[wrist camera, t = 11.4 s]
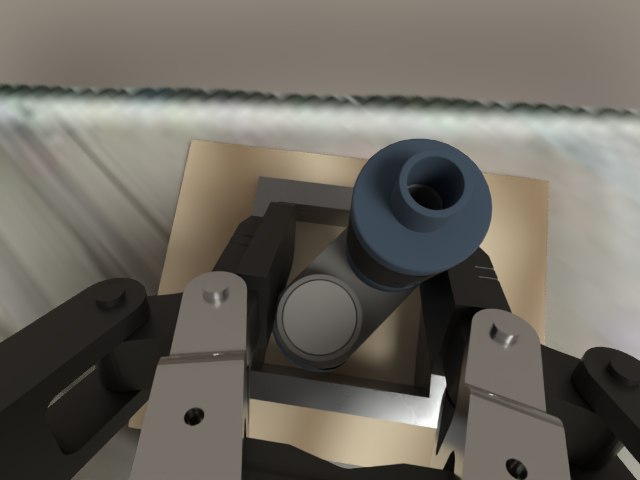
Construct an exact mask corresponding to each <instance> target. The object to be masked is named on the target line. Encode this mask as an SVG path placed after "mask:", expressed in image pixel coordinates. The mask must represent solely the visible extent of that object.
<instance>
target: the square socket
mask: <svg viewBox="0 0 640 480" xmlns="http://www.w3.org/2000/svg"><path fill="white" fill-rule="evenodd" d="M353 188H354V187H346V186H338V185H329V184H321V183H313V182H304V181H296V180H288V179H280V178H271V177H263V176H259V180H258V186H257V191H256V197H255V202H254V208H253V213H252V216H260V217H263V216H264V214H265V212H266V210H267V208H268V206H269V204H270V202H279V203H288V204H295V205H296V221H301V222H309V223H316V224H324V225H332V226H340V227H348V223H349V216H350V208H351V200H352V194H353ZM265 354H266V349H263V348H257V347H255V350H254V353H253V356H252V359H251V361H250V399H255V400H261V401H268V402H274V403H280V404H287V405H293V406H299V407H306V408H312V409H318V410H324V411H331V412H337V413H343V414H350V415H356V416H362V417H369V418H375V419H381V420H387V421H394V422H400V423H406V424H413V425H419V426H425V427H432V428H437V422H438V417H439V411H440V405H441V399H442V395H443V393H444V390H445V388H446V380H445V376H440V375H433V374H431V371H430V363H429V355H428V348H427V340H426V333H425V325H424V317H423V310H422V302H421V310H420V321H419V333H418V344H417V355H416V367H415V378H414V386H413V385H407V384H400V383H394V382H387V381H380V380H374V379H367V378H361V377H354V376H348V375H341V374H334V373H328V372H314V371H308V370H306V369H302V368H295V367H288V366H282V365H275V364H269V363H264V360H265Z"/></svg>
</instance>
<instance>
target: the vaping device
mask: <svg viewBox="0 0 640 480" xmlns="http://www.w3.org/2000/svg"><path fill="white" fill-rule="evenodd" d="M491 218H492V198H491V193H490V190H489V186H488V184H487V182H486V180H485V177H484V175H483V174H482V172H481V171H480V169H479V168H478V167H477V165H476V164H475V163H474V162H473V161H472V160H471V159H470V158H469V157H468V156H467V155H465V154H464V153H462V152H461V151H460V150H458V149H456V148H454V147H452V146H450V145H448V144H446V143H442V142H439V141H436V140H429V139H409V140H403V141H399V142H396V143H394V144H391V145H389V146H387V147H385V148H383V149H381V150H380V151H378V152H377V153H376V154H375V155H374V156H372V157H371V158H370V159H369V160H368V162H367V163H366V164H365V165H364V166H363V168H362V169H361V171H360V173H359V175H358V176H357V179H356V182H355V185H354V188H353V194H352V200H351V208H350V216H349V223H348V227H347V228H346V229H345V230H344V231H343V232H342V233H341V234H340V235H339V236H338V237H336V238H335V239H334V240H333V241H332V242H331V243H330V244H329V245H328V246H327V247H326V248H325V249H324V250H323V251H322V252H321V253H320V254H319V255H318V256H317V257H316V258H315V259H314V260H313V261H312V262H311V263H310V264H309V265H308V266H307V267H306V268H305V269H304V270H303V271H302V272H301V273H300V274H299V275H298V276H297V277H296V278H295V279H294V280H293V281H292V282H291V283H290V284H289V285H288V286H287V287H286V288H285V289H284V290H283V291H282V292H281V293H280V294H279V296H278V301H277V307H276V313H275V319H274V327H273V330H272V333H273V336H274V339H275V342H276V344H277V346H278V347H279V348H280V350H281V351H282V353H283V354H284V356H285V357H287V358H288V359H289V360H290V361H292V362H293V363H294V364H295V365H297V366H299V367H301V368H304V369H306V370H308V371H314V372H327V371H331V370H335V369H337V368H338V367H340V366H341V365H343V364H344V363H345V362H346V361H347V360H348V359H349V358H350V356H351V355H352V354H353V353H354V352H355V351H356V350H357V349H358V348H359V347H360V346H361V345H362V344H363V343H364V342H365V341H366V340H367V339H368V338H369V337H370V336H371V335H372V334H373V332H374V331H375V330H376V329H377V328H378V327H379V326H380V325H381V324H382V323H383V322H384V321H385V320H386V319H387V318H388V317H389V316H390V315H391V314H392V313H393V312H394V311H395V310H396V308H397V307H398V306H399V305H400V304H401V303H402V302H403V301H404V300H405V299H406V298H407V297H408V296H409V295H410V294H411V293H412V292H413V291H414V290H415V289H416V288H417V287H418V286H419V284H420V283H422V282H424V281H426V280H428V279H430V278H432V277H434V276H436V275H438V274H440V273H442V272H443V271H445V270H447V269H449V268H451V267H453V266H455V265H457V264H459V263H461V262H462V261H464V260H466V259H467V258H468V257H469V256H470V255H471V254H473V253H474V252H475V251H476V250H477V248H478V247H479V246H480V244H481V243H482V242H483V240H484V238H485V236H486V234H487V232H488V230H489V226H490V223H491Z"/></svg>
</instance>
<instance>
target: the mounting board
mask: <svg viewBox="0 0 640 480" xmlns="http://www.w3.org/2000/svg"><path fill="white" fill-rule="evenodd" d="M367 162H368V160H365V159H356V158H347V157H339V156H330V155H321V154H313V153H304V152H295V151H287V150H278V149H269V148H261V147H252V146H243V145H235V144H226V143H217V142H209V141H200V140H192V141H191V145H190V150H189V154H188V159H187V163H186V168H185V172H184V177H183V181H182V186H181V190H180V195H179V199H178V204H177V208H176V213H175V217H174V222H173V226H172V231H171V235H170V240H169V245H168V249H167V254H166V258H165V263H164V267H163V272H162V276H161V281H160V285H159V290H158V294H157V295H166V294H176V293H181V292H184V289H185V287H186V285H187V284H188V283H189V282H190V281H191V280H192V279H194V278H195V277H197V276H199V275H202V274H205V273H208V272H211V271H212V270H213V268H214V266H215V264H216V263H217V261H218V259H219V258H220V256H221V254H222V252H223V251H224V249H225V247H226V246H227V244H228V243H229V241H230V239H231V237H232V236H233V234H234V232H235V230H236V229H237V227H238V225H239V223H241V222H242V221H244V220H245V219H247V218H248V217H250V216H252V213H253V208H254V202H255V197H256V191H257V186H258V180H259V176H263V177H271V178H280V179H288V180H296V181H304V182H313V183H321V184H329V185H338V186H346V187H354V185H355V182H356V179H357V176H358V175H359V173H360V171H361V169H362V168H363V166H364V165H365V164H366V163H367ZM482 174H483V175H484V177H485V180H486V182H487V184H488V186H489V190H490V193H491V198H492V218H491V223H490V226H489V230H488V232H487V234H486V236H485V238H484V240H483V242H482V243H481V244H480V246H479V247H480V248H481V249H482V250H483V251H484V252H485V253H486V254H487V255H488V256H489V257H490V260H491V262H492V265H493V267H494V271H495V272H496V275H497V277H498V281H499V282H500V284H501V287H502V289H503V292H504V294H505V297H506V299H507V302H508V304H509V307H510V309H511V312H512V314H515V315H517V316H519V317H520V318H522V319H523V320H525V321H526V322H527V323H529V324H530V325H531V326H532V327H533V328H534V330H535V331H536V332H537V334H538V336H539V339H540V344H542V345H544V346H545V310H546V272H547V234H548V196H549V181H546V180H538V179H529V178H521V177H512V176H503V175H495V174H486V173H482ZM346 228H347V227H340V226H332V225H324V224H316V223H309V222H301V221H296V230H295V250H294V259H293V264H292V268H291V272H290V275H289V278H288V281H287V285H286V287H287V286H288V285H289V284H290V283H291V282H292V281H293V280H294V279H295V278H296V277H297V276H298V275H299V274H300V273H301V272H302V271H303V270H304V269H305V268H306V267H307V266H308V265H309V264H310V263H311V262H312V261H313V260H314V259H315V258H316V257H317V256H318V255H319V254H320V253H321V252H322V251H323V250H324V249H325V248H326V247H327V246H328V245H329V244H330V243H331V242H332V241H333V240H334V239H335V238H336V237H338V236H339V235H340V234H341V233H342V232H343V231H344V230H345V229H346ZM420 310H421V295H420V287H419V286H418V287H417V288H416V289H415V290H414V291H413V292H412V293H411V294H410V295H409V296H408V297H407V298H406V299H405V300H404V301H403V302H402V303H401V304H400V305H399V306H398V307H397V308H396V310H395V311H394V312H393V313H392V314H391V315H390V316H389V317H388V318H387V319H386V320H385V321H384V322H383V323H382V324H381V325H380V326H379V327H378V328H377V329H376V330H375V331H374V332H373V334H372V335H371V336H370V337H369V338H368V339H367V340H366V341H365V342H364V343H363V344H362V345H361V346H360V347H359V348H358V349H357V350H356V351H355V352H354V353H353V354H352V355H351V356H350V358H349V359H348V360H347V361H346V362H345V363H344V364H343V365H341V366H340V367H338V368H337V369H335V370H331V371H327V372H328V373H334V374H341V375H348V376H354V377H361V378H367V379H374V380H380V381H387V382H394V383H400V384H407V385H413V386H414V378H415V367H416V355H417V344H418V333H419V321H420ZM264 363H269V364H275V365H282V366H288V367H295V368H301V367H299V366H297V365H295V364H294V363H293V362H292V361H290V360H289V359H288V358H287V357H285V356H284V354H283V353H282V351H281V350H280V348H279V347H278V346H277V344H276V342H275V339H274V336H273V333H271V337H270V340H269V343H268V346H267V349H266V354H265V360H264ZM302 369H304V368H302ZM148 401H149V400H148ZM148 401H147V402H146V403H145V404H144V405H143V406H142V407H141V408H140V409H139V410H138V411H137V412H136V413H135V414H134V415H133V416H132V417H131V418H130V421H129V425H128V427H131V428H137V429H142V425H143V421H144V417H145V413H146V409H147V405H148ZM435 434H436V428H432V427H425V426H419V425H413V424H406V423H400V422H394V421H387V420H381V419H375V418H369V417H362V416H356V415H350V414H343V413H337V412H331V411H324V410H318V409H312V408H306V407H299V406H293V405H287V404H280V403H274V402H268V401H261V400H255V399H250V418H249V438H255V439H261V440H267V441H273V442H279V443H285V444H290V445H292V446H294V447H297V448H299V449H301V450H303V451H305V452H308V453H310V454H312V455H314V456H317V457H319V458H321V459H323V460H328V461H334V462H340V463H346V464H352V465H358V466H364V467H372V466H382V465H391V464H401V463H406V464H412V465H418V466H424V467H430V463H431V457H432V452H433V446H434V440H435Z"/></svg>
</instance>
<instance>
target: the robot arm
mask: <svg viewBox="0 0 640 480" xmlns="http://www.w3.org/2000/svg"><path fill="white" fill-rule="evenodd" d="M295 230H296V205H295V204H288V203H279V202H270V204H269V206H268V208H267V210H266V212H265V214H264V216H263V217H260V216H250V217H248V218H247V219H245V220H244V221H242V222H241V223H239V225H238V227H237V229H236V230H235V232H234V234H233V236H232V237H231V239H230V241H229V243H228V244H227V246H226V247H225V249H224V251H223V252H222V254H221V256H220V258H219V259H218V261H217V263H216V264H215V266H214V268H213V270H212V271H211V272H208V273H205V274H202V275H199V276H197V277H195V278H194V279H192V280H191V281H190V282H189V283H188V284H187V285H186V287H185V289H184V292H181V293H176V294H166V295H155V296H147V295H146V291H145V288H144V286H143V285H142V284H141V283H140V282H138V281H136V280H133V279H128V278H115V279H109V280H104V281H101V282H98V283H96V284H94V285H92V286H90V287H88V288H87V289H85V290H84V291H82V292H80V293H79V294H77V295H76V296H74V297H72V298H71V299H69V300H68V301H66V302H65V303H63V304H61V305H60V306H58V307H57V308H55V309H53V310H52V311H50V312H49V313H47V314H46V315H44V316H42V317H41V318H39V319H38V320H36V321H34V322H33V323H31V324H30V325H28V326H27V327H25V328H23V329H22V330H20V331H19V332H17V333H15V334H14V335H12V336H11V337H9V338H8V339H6V340H4V341H3V342H1V343H0V480H70V479H71V478H72V477H73V476H74V475H75V474H76V473H77V472H78V471H79V470H80V469H81V468H82V467H83V466H84V465H85V464H86V463H87V462H88V461H89V460H90V459H91V458H92V457H93V456H94V455H95V454H96V453H97V452H98V451H99V450H100V449H101V448H102V447H103V446H104V445H105V444H106V443H107V442H108V441H109V440H110V439H111V438H112V437H113V436H114V435H115V434H116V433H117V432H118V431H119V430H120V429H121V428H122V427H123V426H124V425H125V424H126V423H127V422H128V421H129V419H130V418H131V417H132V416H133V415H134V414H135V413H136V412H137V411H138V410H139V409H140V408H141V407H142V406H143V405H144V404H145V403H146V402H147V401H148V400H149V401H148V405H147V409H146V413H145V417H144V421H143V425H142V430H141V434H140V438H139V442H138V446H137V450H136V454H135V458H134V462H133V466H132V470H131V474H130V478H129V480H637V479H636V478H635V477H634V476H633V474H632V473H631V472H630V471H629V470H628V468H627V467H626V466H625V465H624V463H623V462H622V461H621V460H620V459H619V457H618V456H617V454H618V452H619V451H620V450H621V449H622V448H623V447H624V446H625V447H626V448H627V449H628V451H629V452H630V453H631V454H632V455H633V457H634V458H635V459H636V460H637V461H638V462H639V464H640V361H639V360H637V359H636V358H634V357H632V356H630V355H628V354H626V353H624V352H621V351H619V350H616V349H612V348H607V347H594V348H591V349H589V350H587V351H586V352H585V354H584V355H583V357H582V358H581V359H578V358H575V357H573V356H570V355H567V354H565V353H562V352H559V351H556V350H554V349H551V348H549V347H546V346H544V345H542V344H540V339H539V336H538V334H537V332H536V331H535V330H534V328H533V327H532V326H531V325H530V324H529V323H527V322H526V321H525V320H523V319H522V318H520V317H519V316H517V315H515V314H512V312H511V309H510V307H509V304H508V302H507V299H506V297H505V294H504V292H503V289H502V287H501V284H500V282H499V281H498V277H497V275H496V272H495V271H494V267H493V265H492V262H491V260H490V257H489V256H488V255H487V254H486V253H485V252H484V251H483V250H482V249H481V248H480V247H478V248H477V250H476V251H475V252H474V253H473V254H471V255H470V256H469V257H468V258H467V259H466V260H464V261H462V262H461V263H459V264H457V265H455V266H453V267H451V268H449V269H447V270H445V271H443V272H442V273H440V274H438V275H436V276H434V277H432V278H430V279H428V280H426V281H424V282H422V283H420V284H419V287H420V295H421V302H422V310H423V317H424V325H425V333H426V340H427V348H428V355H429V363H430V371H431V374H433V375H440V376H445V380H446V388H445V390H444V393H443V395H442V399H441V405H440V411H439V417H438V422H437V428H436V434H435V440H434V446H433V452H432V457H431V463H430V467H424V466H418V465H412V464H406V463H401V464H391V465H382V466H372V467H363V468H353V469H346V468H341V467H339V466H336V465H334V464H332V463H330V462H328V461H325V460H323V459H321V458H319V457H317V456H314V455H312V454H310V453H308V452H305V451H303V450H301V449H299V448H297V447H294V446H292V445H290V444H285V443H279V442H273V441H267V440H261V439H255V438H249V418H250V361H251V359H252V356H253V353H254V350H255V347H257V348H263V349H267V346H268V343H269V340H270V337H271V333H272V330H273V327H274V319H275V313H276V307H277V301H278V296H279V294H280V293H281V292H282V291H283V290H284V289H285V288H286V285H287V281H288V278H289V275H290V272H291V268H292V264H293V259H294V250H295ZM94 364H95V366H96V369H95V370H94V371H92V372H91V373H90V374H89V375H88V376H86V377H85V378H84V379H83V380H82V381H80V382H79V383H78V384H77V385H75V386H74V387H73V388H72V389H71V390H69V391H68V392H67V393H66V394H65V395H63V396H62V397H61V398H60V399H58V400H57V401H56V402H55V403H54V404H52V405H51V406H50V407H49V408H48V409H47V407H48V405H49V404H50V402H51V401H52V400H53V398H54V397H55V396H56V395H57V394H59V393H60V392H61V391H62V390H63V389H65V388H66V387H67V386H68V385H70V384H71V383H72V382H73V381H74V380H76V379H77V378H78V377H79V376H81V375H82V374H83V373H84V372H86V371H87V370H88V369H89V368H90V367H92V366H93V365H94Z"/></svg>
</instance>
